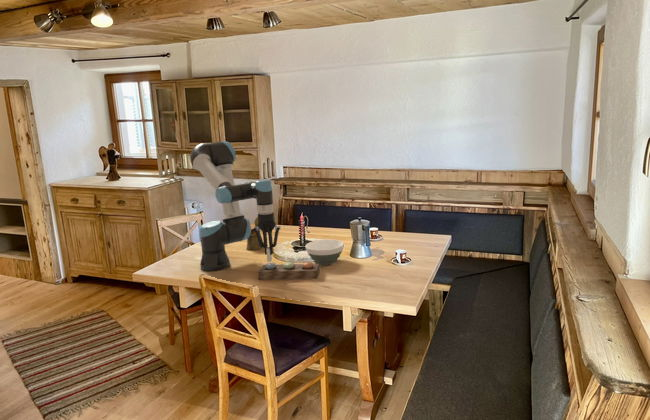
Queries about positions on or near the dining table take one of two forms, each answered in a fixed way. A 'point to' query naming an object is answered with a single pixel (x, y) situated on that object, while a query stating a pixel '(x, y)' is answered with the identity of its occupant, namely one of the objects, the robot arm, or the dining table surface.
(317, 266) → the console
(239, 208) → the robot arm
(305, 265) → the rust button
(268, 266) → the slate button
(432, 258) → the dining table surface
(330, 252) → the bowl
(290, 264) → the sage button
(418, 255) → the dining table surface
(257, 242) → the brown lidded stein
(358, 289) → the dining table surface
